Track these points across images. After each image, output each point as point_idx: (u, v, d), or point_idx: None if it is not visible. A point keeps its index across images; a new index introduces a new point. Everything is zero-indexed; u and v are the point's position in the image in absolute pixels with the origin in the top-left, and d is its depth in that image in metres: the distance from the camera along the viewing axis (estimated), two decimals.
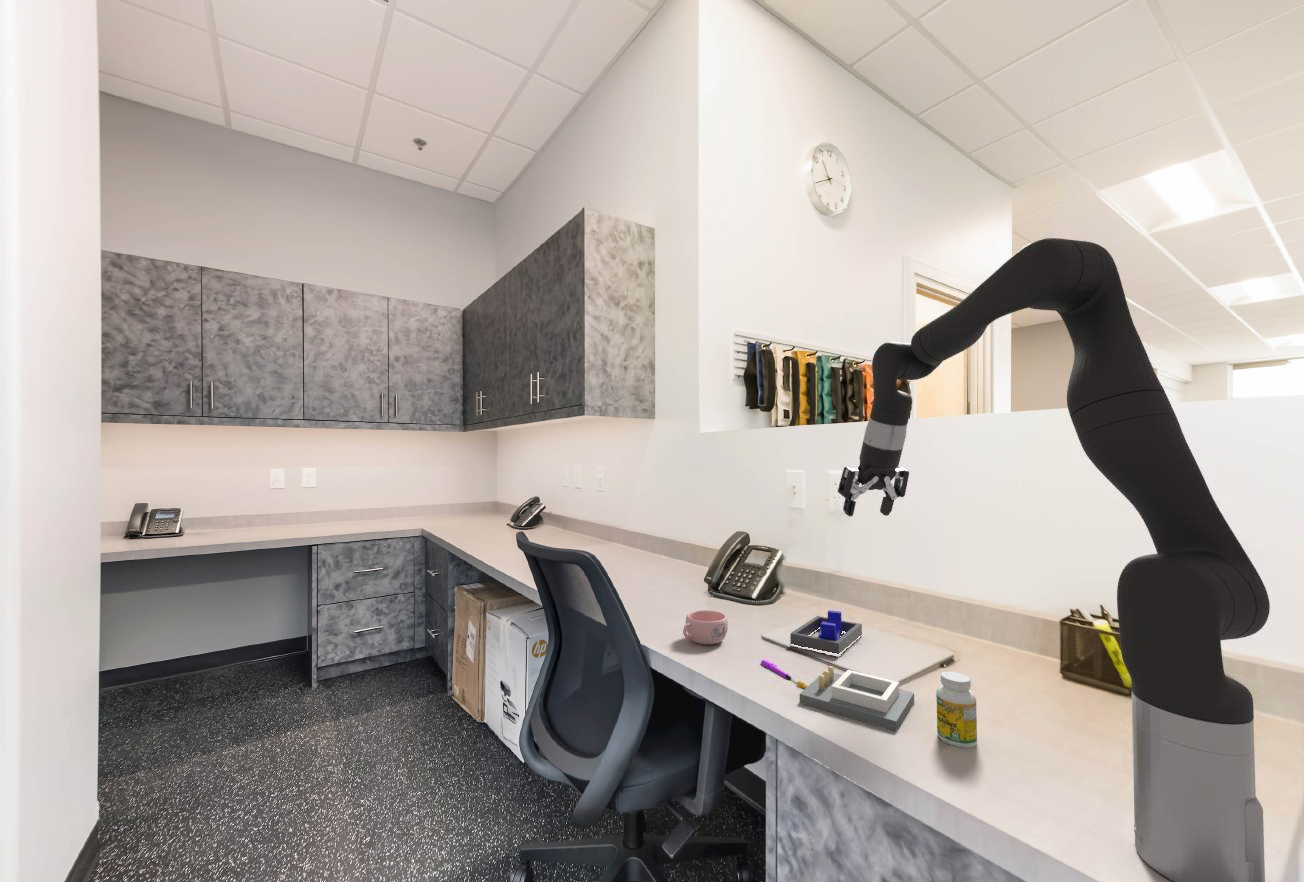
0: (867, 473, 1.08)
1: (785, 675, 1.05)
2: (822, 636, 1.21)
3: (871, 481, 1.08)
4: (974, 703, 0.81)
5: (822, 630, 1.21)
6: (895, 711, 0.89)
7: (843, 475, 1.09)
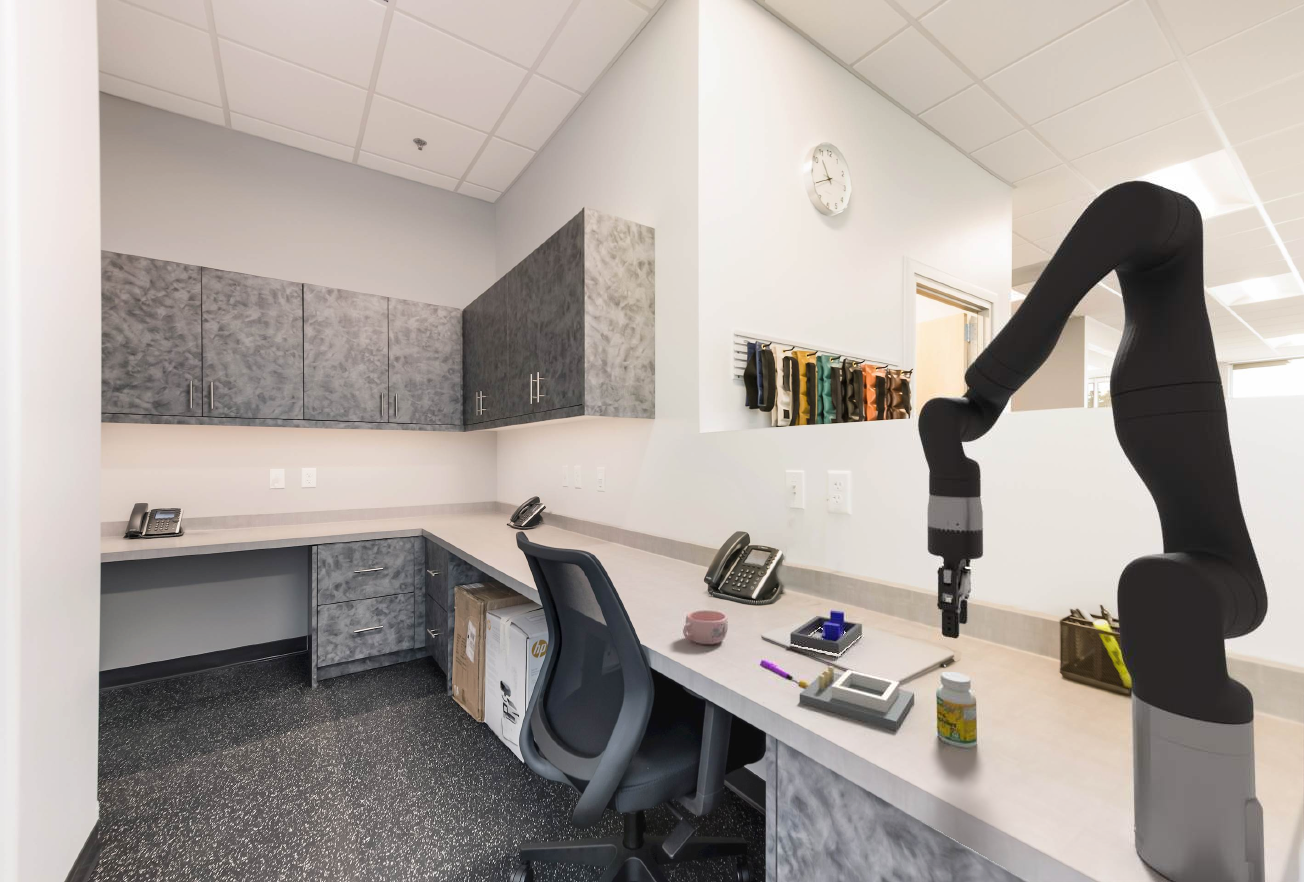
0: (960, 569, 0.80)
1: (786, 675, 1.05)
2: (826, 636, 1.20)
3: (966, 579, 0.80)
4: (974, 703, 0.81)
5: (826, 630, 1.20)
6: (895, 711, 0.89)
7: (941, 581, 0.78)
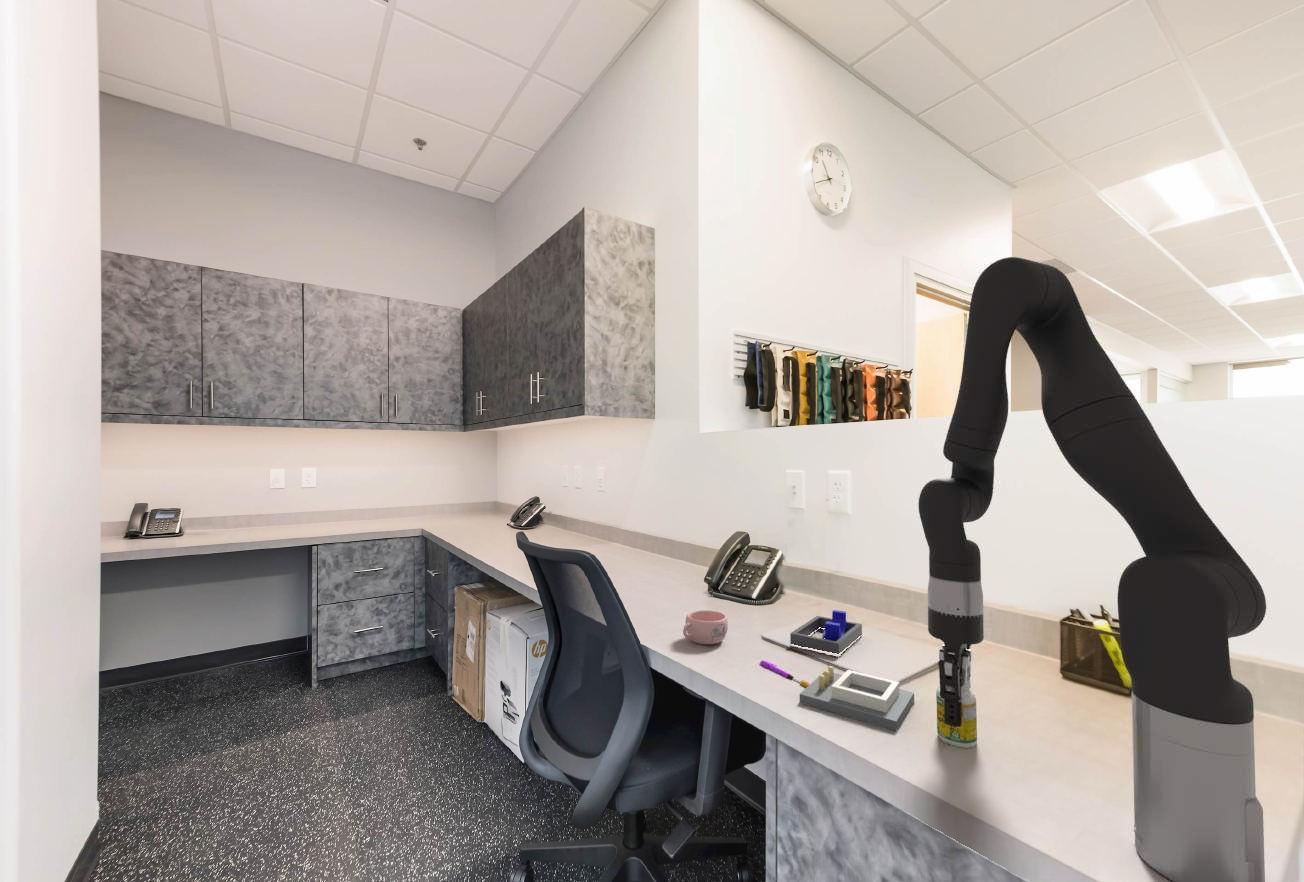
0: (960, 654, 0.80)
1: (787, 675, 1.05)
2: (826, 636, 1.21)
3: (967, 665, 0.80)
4: (974, 703, 0.81)
5: (826, 630, 1.21)
6: (895, 711, 0.89)
7: (943, 674, 0.78)
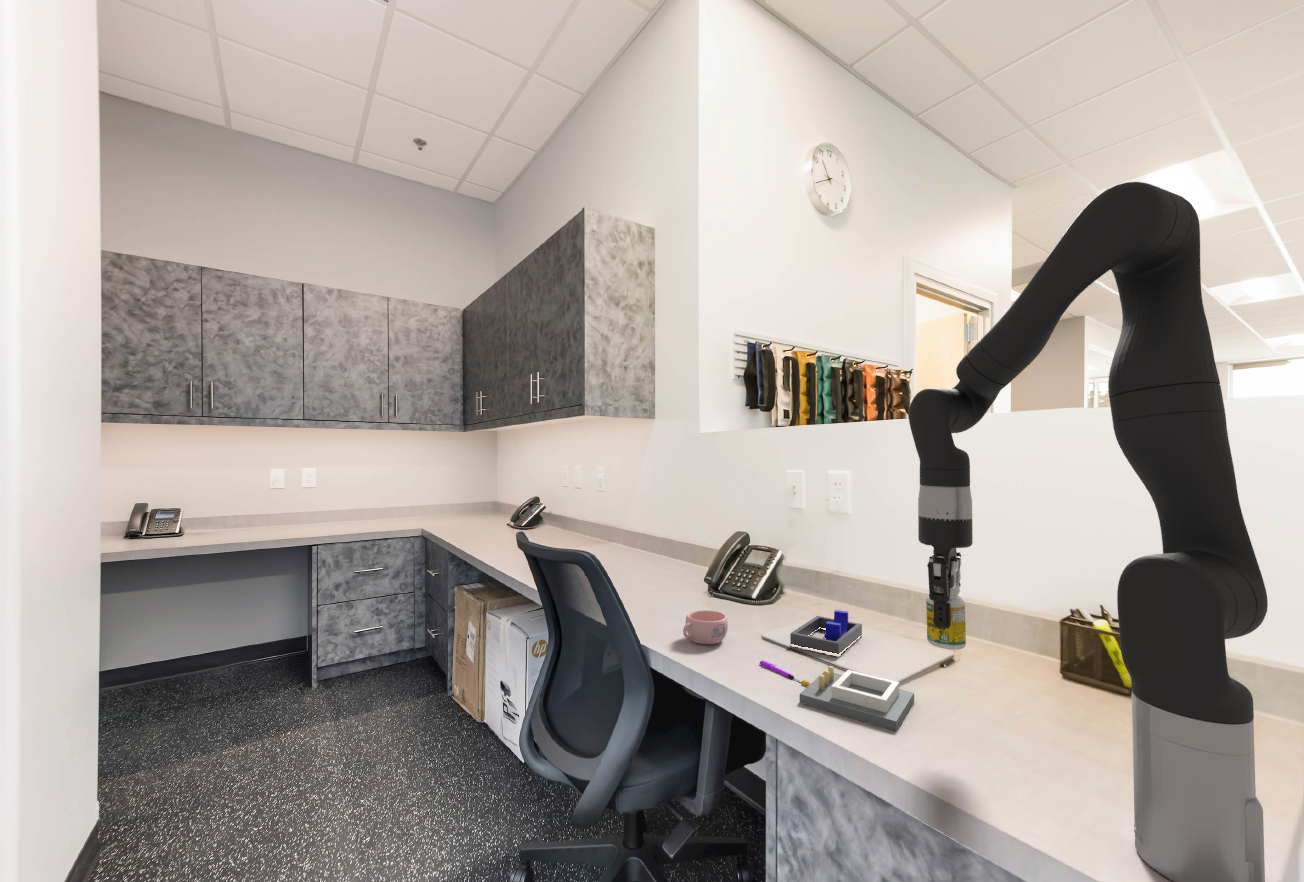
0: (949, 558, 0.82)
1: (788, 675, 1.05)
2: (827, 635, 1.21)
3: (956, 568, 0.82)
4: (963, 606, 0.82)
5: (827, 629, 1.21)
6: (895, 711, 0.89)
7: (932, 575, 0.80)
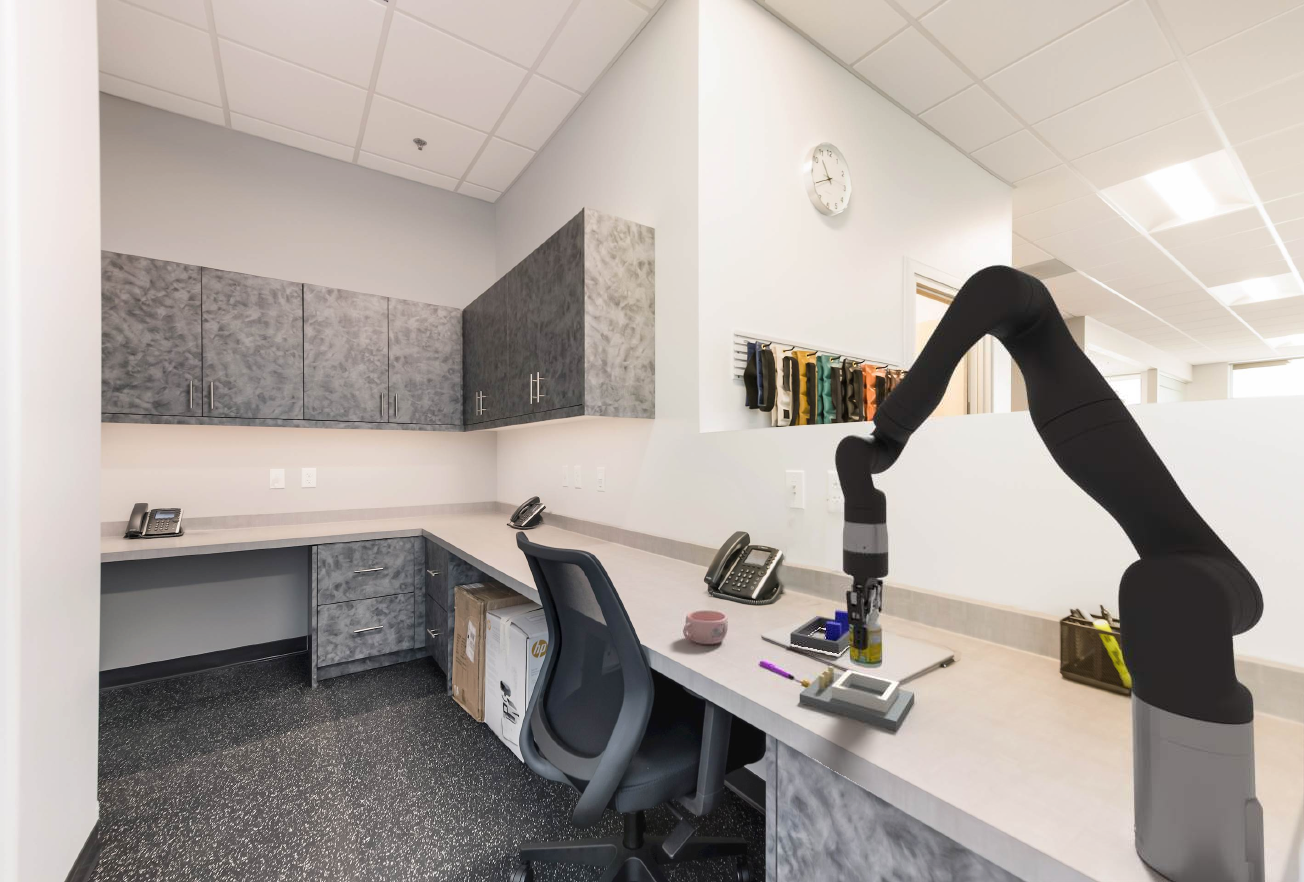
0: (867, 587, 0.92)
1: (788, 675, 1.05)
2: (827, 635, 1.21)
3: (873, 596, 0.92)
4: (879, 630, 0.92)
5: (827, 629, 1.21)
6: (895, 711, 0.89)
7: (849, 602, 0.90)
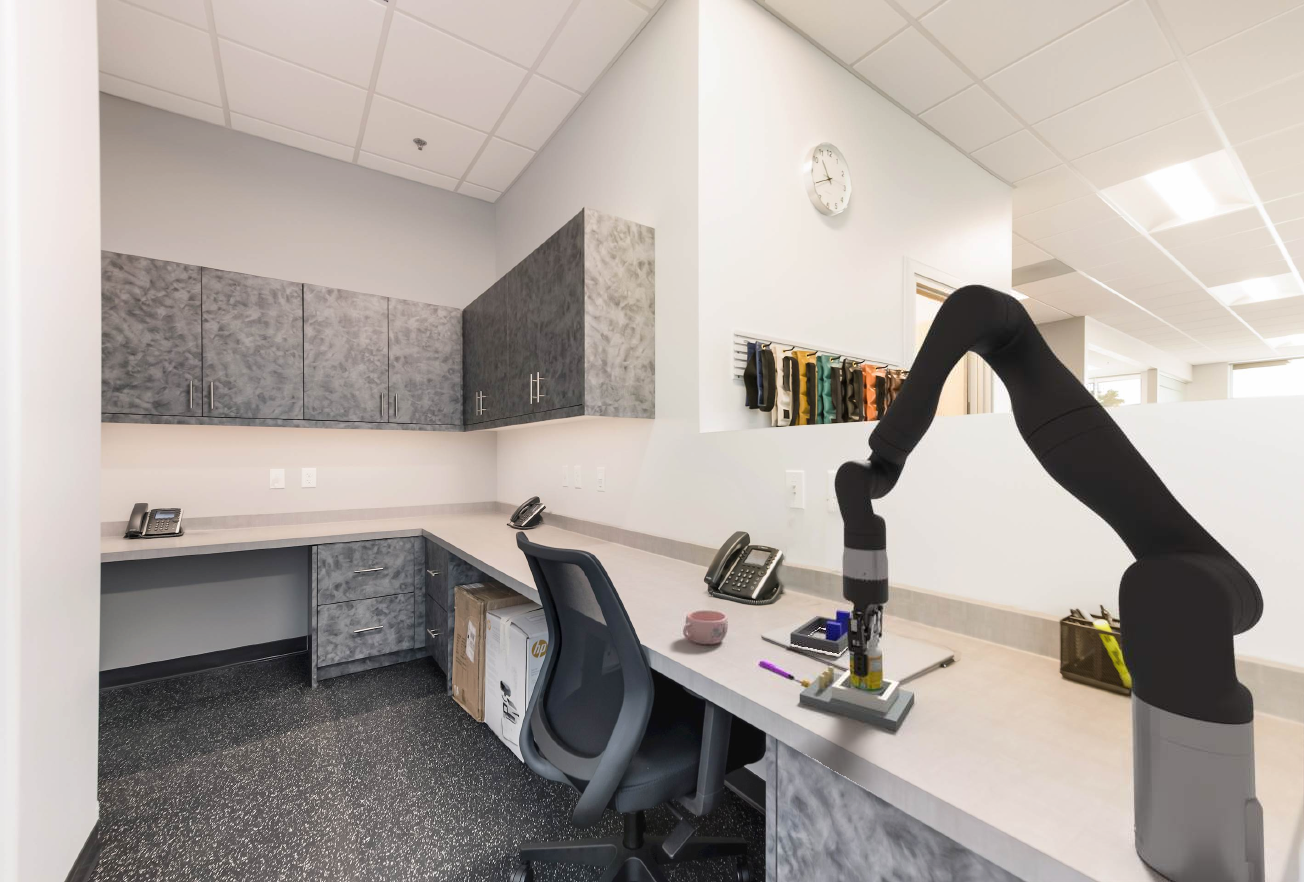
0: (867, 613, 0.92)
1: (788, 675, 1.05)
2: (827, 635, 1.21)
3: (873, 623, 0.92)
4: (879, 656, 0.92)
5: (827, 629, 1.21)
6: (895, 711, 0.89)
7: (850, 630, 0.90)
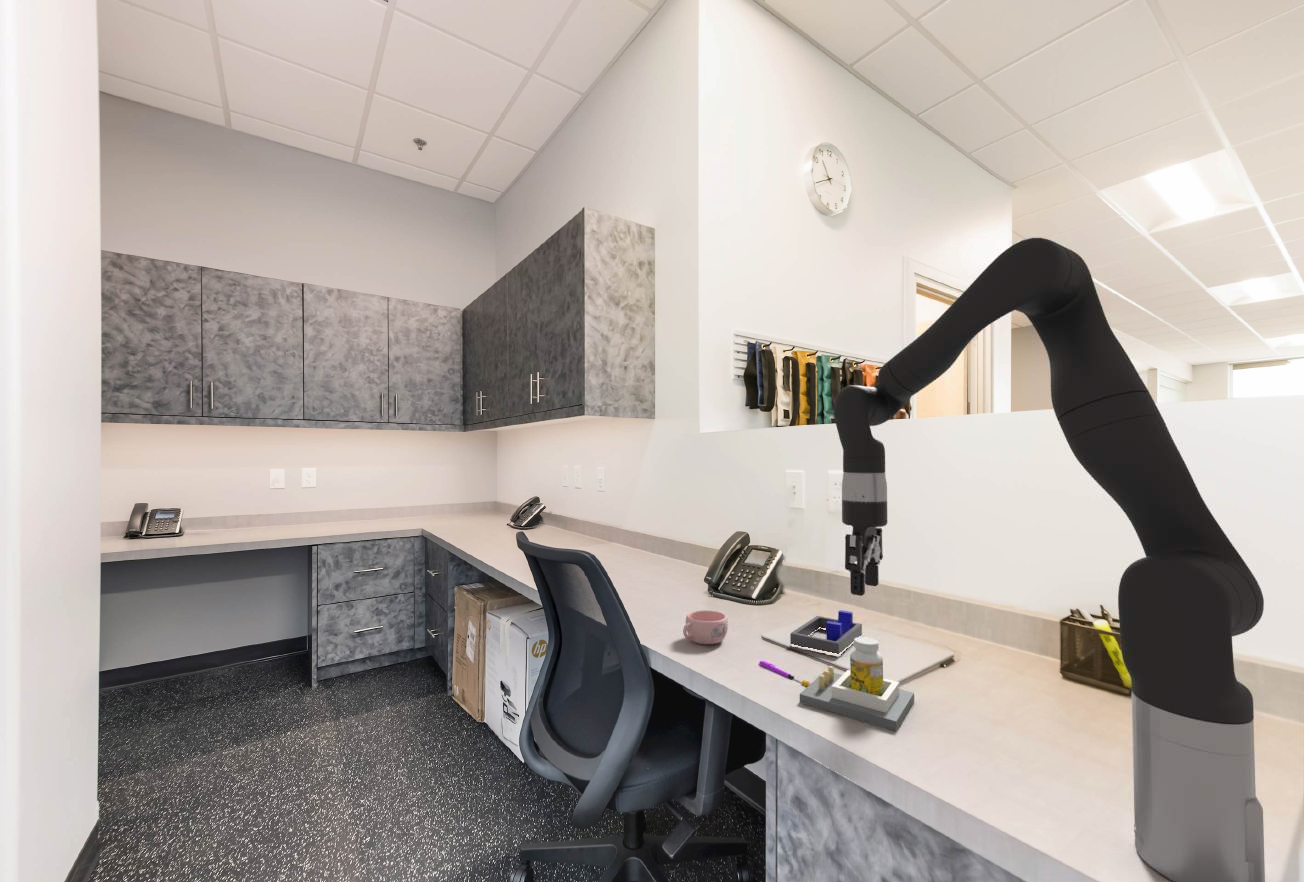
0: (866, 536, 0.92)
1: (788, 675, 1.05)
2: (827, 635, 1.21)
3: (872, 544, 0.92)
4: (880, 663, 0.92)
5: (827, 629, 1.21)
6: (895, 711, 0.89)
7: (848, 545, 0.90)
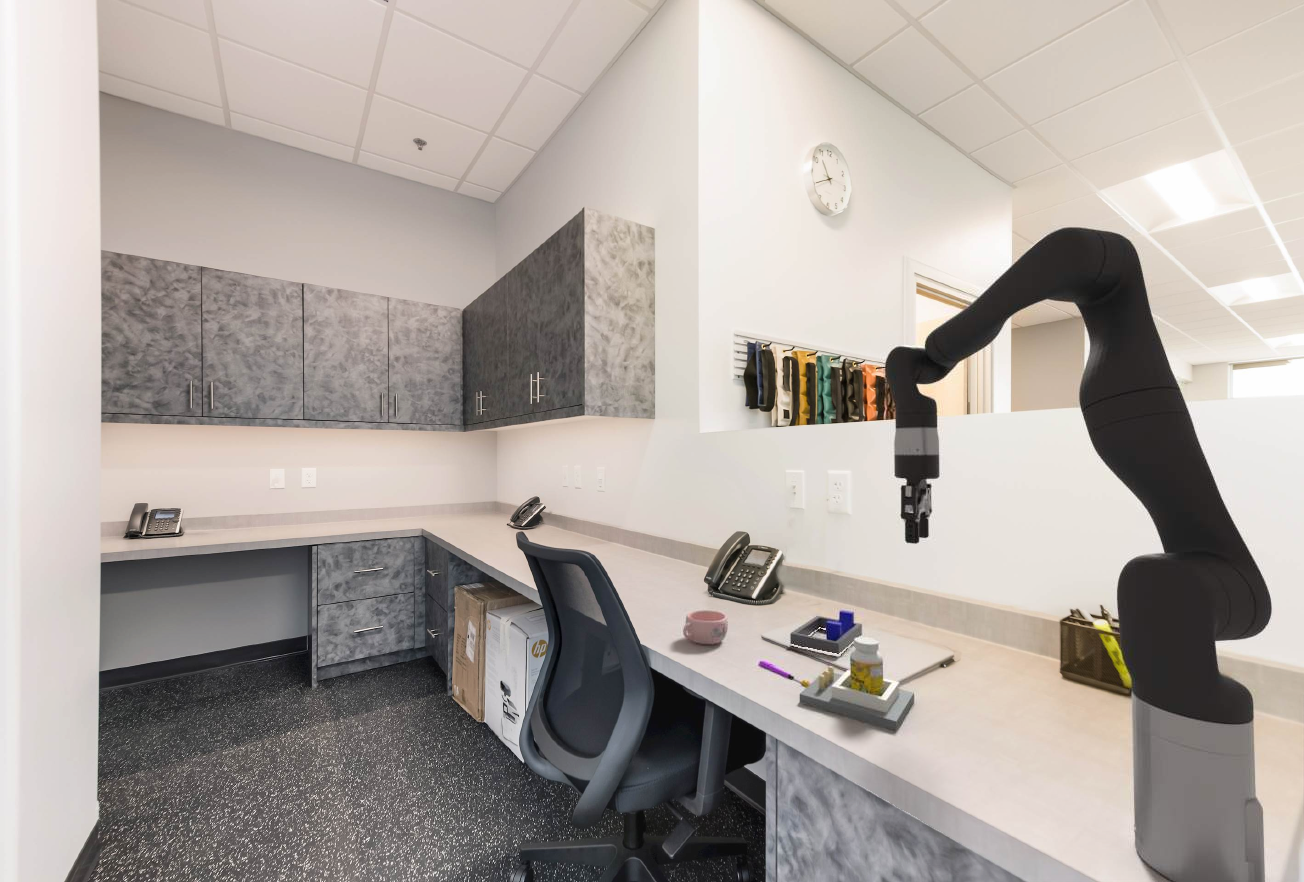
0: (920, 488, 0.97)
1: (787, 675, 1.05)
2: (827, 634, 1.21)
3: (925, 495, 0.97)
4: (880, 663, 0.92)
5: (827, 629, 1.21)
6: (895, 711, 0.89)
7: (904, 495, 0.94)
